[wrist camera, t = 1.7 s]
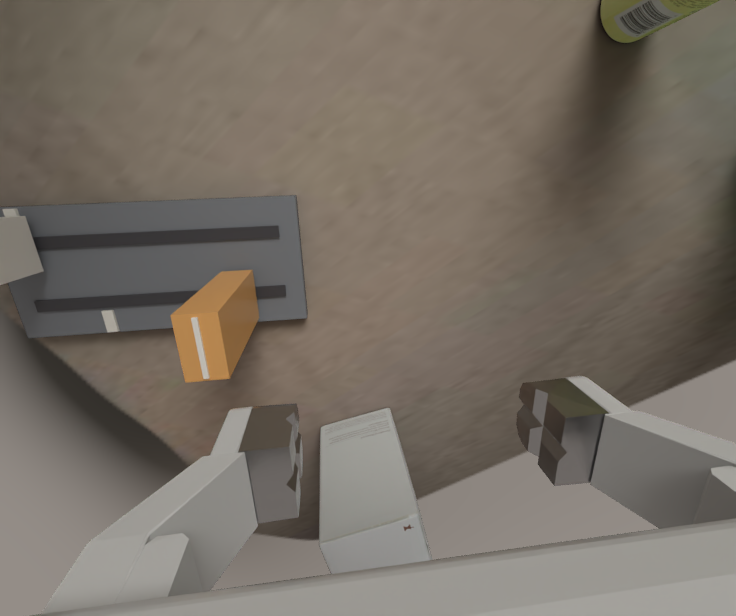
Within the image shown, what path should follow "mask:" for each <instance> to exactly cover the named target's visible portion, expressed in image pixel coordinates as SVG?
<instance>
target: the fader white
mask: <svg viewBox="0 0 736 616" xmlns="http://www.w3.org/2000/svg"><path fill="white" fill-rule="evenodd" d="M43 271H44V270H43V267H42V264H41V261H40V258H39V255H38V252H37V249H36V246H35V243H34V240H33V238H32V235H31V232H30V229H29V226H28V223H27V220H26V217H25V216H9V217H0V285H2V284H5V283H8V282H11V281H15V280H18V279H21V278H24V277H27V276H30V275H34V274H37V273H40V272H43Z"/></svg>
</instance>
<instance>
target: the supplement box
mask: <svg viewBox="0 0 736 616" xmlns="http://www.w3.org/2000/svg"><path fill="white" fill-rule="evenodd" d="M319 547H320V549H321V551H322V554H323V556H324V559H325V561H326V563H327V566H328V568H329V570H330V573H331V574H335V573H342V572H349V571H357V570H364V569H371V568H378V567H385V566H393V565H400V564H407V563H414V562H421V561H429V560H432V557H431V553H430V549H429V545H428V541H427V537H426V533H425V529H424V525H423V522H422V518H421V514H420V510H419V507H418V503H417V499H416V496H415V492H414V489H413V485H412V482H411V478H410V475H409V471H408V468H407V464H406V461H405V457H404V454H403V450H402V447H401V443H400V440H399V436H398V433H397V430H396V427H395V423H394V420H393V417H392V414H391V411H390V408H385V409H382V410H378V411H374V412H371V413H367V414H363V415H360V416H356V417H353V418H349V419H346V420H342V421H338V422H335V423H331V424H328V425H325V426H322V427H321V429H320V511H319Z"/></svg>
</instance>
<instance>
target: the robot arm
mask: <svg viewBox="0 0 736 616" xmlns="http://www.w3.org/2000/svg"><path fill="white" fill-rule="evenodd" d="M519 398H520V400H521V401H522V403H523V404H524V405H523V406H522V407H521V409H520V410H519V411H518V412H517V421H516V425H517V430H518V435H519V438H520V440H521V442H522V444H523V445H524V447H525V448H526V449H527V451H529V452H531V453H533V454H534V455H536V456H538V457H539V459H538V465H539V466H540V468H541V469H542V470H543V472H544V473H545V474H546V476H547V477H548V478H549V479H550V481H551V482H552V483H553V485H554V486H559V485H569V484H581V483H591V485H592V486H594V487H595V488H597V489H598V490H600V491H602V492H603V493H605V494H606V495H608V496H609V497H611V498H612V499H614V500H616V501H617V502H619V503H620V504H622V505H623V506H625V507H626V508H628V509H630V510H631V511H633V512H634V513H636V514H637V515H639V516H641V517H642V518H644V519H645V520H647V521H648V522H650V523H652V524H653V525H655V526H656V527H658V528H659V529H653V530H646V531H639V532H631V533H624V534H617V535H609V536H602V537H595V538H588V539H580V540H573V541H566V542H558V543H551V544H544V545H537V546H530V547H523V548H515V549H508V550H500V551H493V552H486V553H479V554H472V555H465V556H457V557H450V558H443V559H436V560H429V561H421V562H414V563H407V564H400V565H393V566H385V567H378V568H371V569H364V570H357V571H349V572H342V573H335V574H328V575H320V576H313V577H306V578H299V579H292V580H284V581H277V582H270V583H263V584H255V585H249V586H241V587H234V588H227V589H220V590H212V591H210V590H211V588H212V587H213V586H214V585H215V583H216V582H217V581H218V579H219V578H220V577H221V575H222V574H223V573H224V571H225V570H226V568H227V567H228V566H229V564H230V563H231V562H232V560H233V559H234V557H235V556H236V555H237V554H238V552H239V551H240V550H241V548H242V547H243V545H244V544H245V543H246V541H247V540H248V539H249V537H250V536H251V535H252V533H253V532H254V531H255V529H256V528H257V527H258V523H264V522H271V521H277V520H284V519H291V518H297V517H299V506H300V495H301V490H300V481H299V479H300V478H301V477H302V468H303V452H302V439H301V434H300V433H299V432H298V426H299V414H298V407H297V404H283V405H269V406H256V407H243V408H234V409H231V410H230V411H229V412H228V414H227V416H226V419H225V421H224V423H223V426H222V428H221V430H220V433H219V435H218V437H217V440H216V442H215V445H214V447H213V449H212V452H211V454H210V456H203V457H201V458H200V459H199V460H197V461H196V462H195V463H193V464H192V465H191V466H189V467H188V468H187V469H185V470H184V471H183V472H181V473H180V474H179V475H177V476H176V477H175V478H173V479H172V480H171V481H170V482H168V483H167V484H165V485H164V486H163V487H161V488H160V489H159V490H157V491H156V492H155V493H153V494H152V495H151V496H149V497H148V498H147V499H145V500H144V501H143V502H141V503H140V504H139V505H137V506H136V507H135V508H133V509H132V510H131V511H129V512H128V513H127V514H125V515H124V516H123V517H121V518H120V519H119V520H117V521H116V522H115V523H113V524H112V525H111V526H109V527H108V528H107V529H105V530H104V531H102V532H101V533H100V534H98V535H97V536H96V537H94V538H93V539H92V540H90V541H89V542H88V543H87V545H86V546H85V548H84V549H83V551H82V552H81V554H80V555H79V557H78V558H77V560H76V561H75V563H74V564H73V566H72V567H71V569H70V570H69V572H68V573H67V575H66V576H65V578H64V579H63V581H62V582H61V584H60V585H59V587H58V588H57V590H56V591H55V593H54V595H53V596H52V597H51V599H50V600H49V602H48V603H47V605H46V606H45V608H44V610H43V611H42V613H41V614H38V615H32V616H736V443H733V442H730V441H727V440H724V439H721V438H718V437H715V436H712V435H709V434H706V433H703V432H701V431H697V430H695V429H691V428H689V427H685V426H683V425H680V424H677V423H674V422H671V421H668V420H665V419H662V418H659V417H656V416H653V415H650V414H647V413H644V412H641V411H632V410H630V409H629V408H628V407H626V406H625V405H624V404H622V403H621V402H619V401H618V400H617V399H615V398H614V397H613V396H611V395H610V394H609V393H607V392H606V391H604V390H603V389H602V388H600V387H599V386H598V385H596V384H595V383H594V382H592V381H591V380H589V379H588V378H587V377H583V376H574V377H566V378H560V379H552V380H543V381H535V382H526V383H523V384H522V386H521V388H520V393H519Z"/></svg>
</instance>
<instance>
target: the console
mask: <svg viewBox="0 0 736 616" xmlns="http://www.w3.org/2000/svg"><path fill="white" fill-rule="evenodd" d="M9 216H25V217H26V220H27V223H28V226H29V229H30V232H31V235H32V238H33V240H34V243H35V246H36V249H37V252H38V255H39V258H40V261H41V264H42V267H43V270H44V271H43V272H40V273H37V274H34V275H30V276H27V277H24V278H21V279H18V280H15V281H11V282H8V285H9V288H10V291H11V294H12V296H13V299H14V302H15V304H16V307H17V310H18V312H19V315H20V318H21V320H22V323H23V326H24V328H25V331H26V334H27V336H28V338H39V337H53V336H66V335H80V334H94V333H108V332H122V331H136V330H150V329H164V328H173V325H172V321H171V316H170V315H171V314H172V313H174V312H175V311H176V310H177V309H178V308H179V307H181V306H182V305H183V304H184V303H185V302H186V301H188V300H189V299H190V298H191V297H192V296H193V295H195V294H196V293H197V292H198V291H199V290H200V289H201V288H203V287H204V286H205V285H206V284H207V283H208V282H210V281H211V280H212V279H213V278H214V277H215V276H217V275H218V274H219V273H220V272H222V271H239V270H253V276H254V283H255V290H256V297H257V304H258V311H259V319H258V321H257V322H261V321H275V320H289V319H303V318H307V314H308V313H307V302H306V292H305V281H304V271H303V260H302V250H301V239H300V229H299V218H298V208H297V197H296V195H291V196H266V197H241V198H216V199H191V200H166V201H141V202H116V203H91V204H66V205H41V206H16V207H0V217H9Z"/></svg>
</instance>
